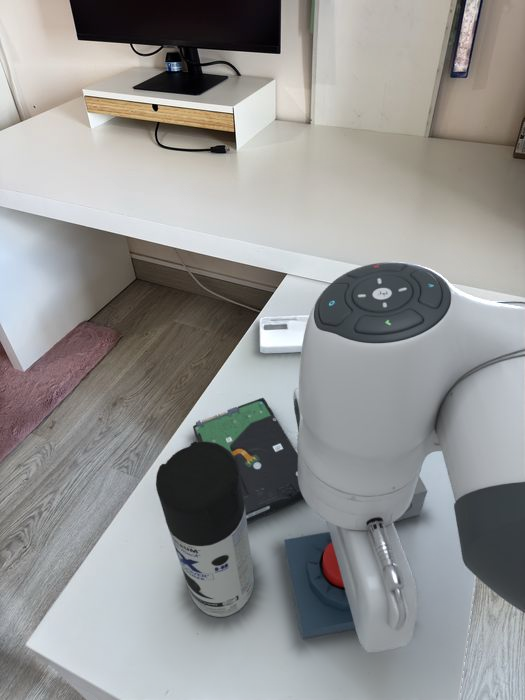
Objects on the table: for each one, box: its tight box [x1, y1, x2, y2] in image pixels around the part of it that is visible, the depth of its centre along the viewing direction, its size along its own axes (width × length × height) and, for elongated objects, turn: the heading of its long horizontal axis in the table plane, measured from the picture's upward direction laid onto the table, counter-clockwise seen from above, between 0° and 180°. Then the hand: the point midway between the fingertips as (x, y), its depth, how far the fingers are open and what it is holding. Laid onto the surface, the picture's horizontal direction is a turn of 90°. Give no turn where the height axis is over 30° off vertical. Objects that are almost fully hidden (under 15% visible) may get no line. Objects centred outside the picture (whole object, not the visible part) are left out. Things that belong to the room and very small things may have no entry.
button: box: [322, 543, 345, 588], centre depth 49 cm, size 4×4×2 cm
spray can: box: [155, 441, 255, 618], centre depth 45 cm, size 7×7×20 cm
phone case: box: [259, 314, 310, 354], centre depth 79 cm, size 7×1×15 cm
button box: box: [283, 531, 356, 640], centre depth 50 cm, size 10×9×4 cm
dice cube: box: [395, 475, 428, 522], centre depth 57 cm, size 5×5×5 cm
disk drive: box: [192, 397, 305, 524], centre depth 62 cm, size 10×3×15 cm
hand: (344, 550), depth 47 cm, fingers closed
